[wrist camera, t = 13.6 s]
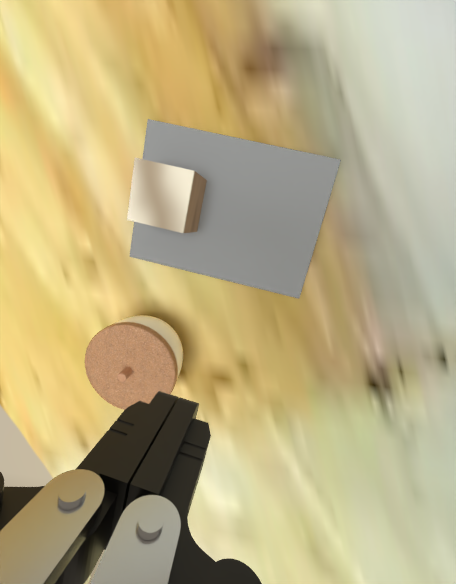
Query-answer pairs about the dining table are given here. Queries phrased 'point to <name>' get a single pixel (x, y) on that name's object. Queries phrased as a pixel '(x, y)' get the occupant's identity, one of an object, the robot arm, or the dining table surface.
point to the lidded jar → (134, 360)
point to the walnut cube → (166, 196)
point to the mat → (241, 209)
